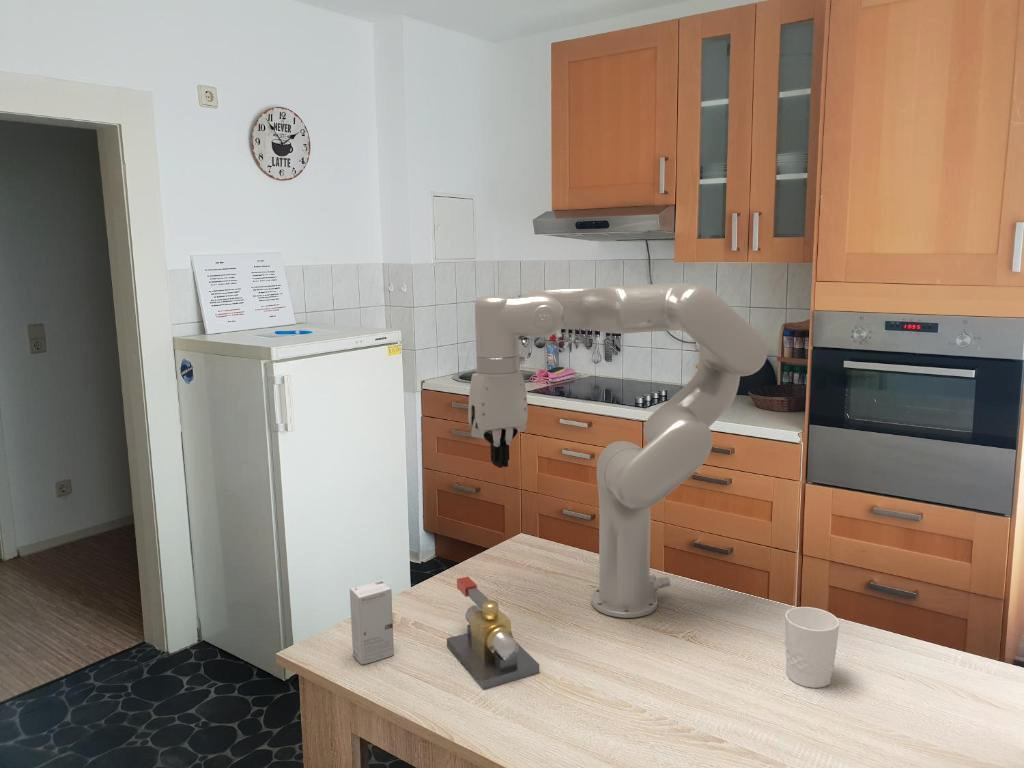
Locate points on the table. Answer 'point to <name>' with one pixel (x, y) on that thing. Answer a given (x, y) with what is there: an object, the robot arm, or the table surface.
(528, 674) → the valve manifold
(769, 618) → the table surface
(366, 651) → the skincare box
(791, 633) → the white cup
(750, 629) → the table surface
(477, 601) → the valve lever
